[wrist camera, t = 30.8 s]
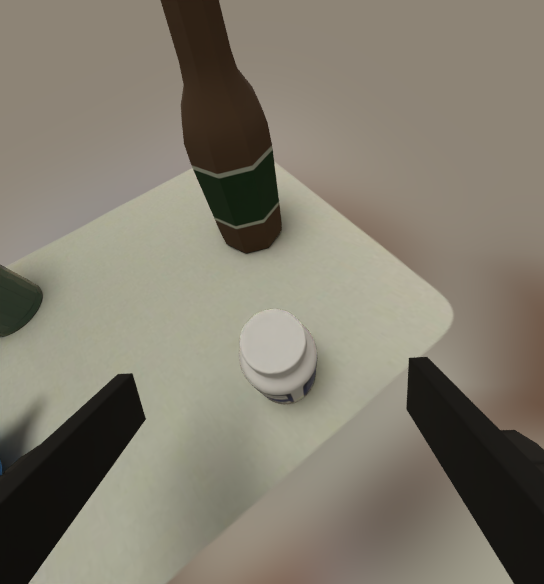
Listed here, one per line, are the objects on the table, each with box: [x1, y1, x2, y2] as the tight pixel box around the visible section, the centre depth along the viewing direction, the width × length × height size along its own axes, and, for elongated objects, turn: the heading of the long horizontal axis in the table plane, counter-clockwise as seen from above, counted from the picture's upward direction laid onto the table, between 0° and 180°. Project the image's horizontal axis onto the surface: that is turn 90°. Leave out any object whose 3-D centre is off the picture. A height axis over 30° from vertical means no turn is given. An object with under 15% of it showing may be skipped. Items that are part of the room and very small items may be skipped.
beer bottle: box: [161, 0, 282, 253], centre depth 22 cm, size 8×8×24 cm
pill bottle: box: [239, 309, 317, 404], centre depth 19 cm, size 5×5×10 cm
